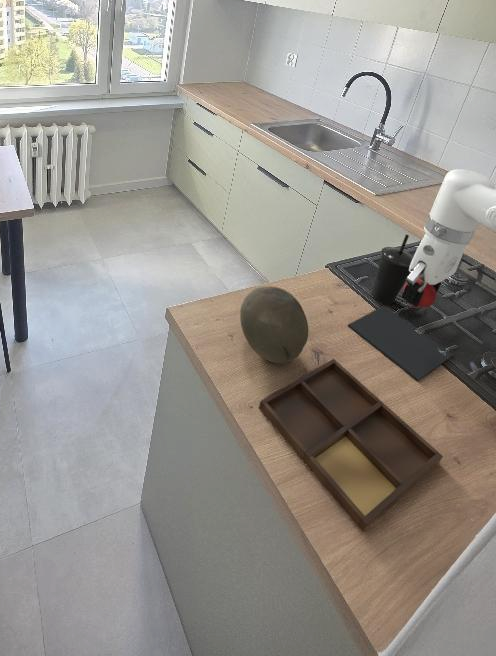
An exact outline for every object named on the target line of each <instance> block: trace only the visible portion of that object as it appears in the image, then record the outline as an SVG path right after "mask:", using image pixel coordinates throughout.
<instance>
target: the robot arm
mask: <svg viewBox="0 0 496 656" xmlns="http://www.w3.org/2000/svg"><path fill="white" fill-rule="evenodd" d="M479 224H480V225H481V226H483V227H484V228H486V229H487V230H489V231H492V232H493V233H494V234H495V233H496V184H495V182H494V181H493V179H491V178H490V177H488V176H487V175H485V174H482V173H480V172H477V171H474V170H469V169H465V168H464V169H462V168H456V169H451V170H449V171H448V172H447V173H446V174H445V176H444V178H443V181H442V183H441V185H440V188H439V190H438V193H437V195H436V198H435V200H434V202H433V204H432V208H431V209H430V211H429V214H428V217H427V219H426V221H425V224H424V226H423V230H424V232H425V234H424V236H423V237H422V239H421V241H420V243H419V245H418V247H417V248H416V250H415V253H414V255H413V259H412V261H411V264H410V267H409V272H410V274H409V276H408V277H407V279H406V282H405V284H406V287H405V289H404V292H403V291H402V294H401V298H402V299H403V300H404V301H406V302H407V303H409V304H410V303H411V304H412V305H414V306H415V307H414V306H413V307H414V308H417V307H416V306H418V305H419V303H420V300H421V298H422V296H423V294H424V292H423V289H424V288H425V286H426V285H427V283H428V284H430V285H433V286H434V288H435V290H436V295H437V293H438V291H439V289H440V287H441V286H442V284H443V283H442V282H443V281H445V280H447V279H448V278H450V277H451V276H453V275H454V274H455V273H456V272H457V270H458V267H459V265H460V263H461V260H462V258H463V255H464V253H465V251H466V247H467V246H469V245H470V242H471V240H472V238H473V236H474V235H475V232H476V230H477V228H478V226H479ZM418 278H419V279H421V280H422V281H423V282H422V283H421V285H420V284H419V283H418V282H417V279H418ZM411 304H410V305H411ZM412 305H411V306H412Z"/></svg>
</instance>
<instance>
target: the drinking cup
mask: <svg viewBox="0 0 496 656" xmlns="http://www.w3.org/2000/svg"><path fill="white" fill-rule="evenodd" d="M409 237H410V235H409V234H405V235H404V238H403V241H402V243H401V246H400V248H398V247H393V246H385V247H383V248H381V250H380V258H379V263H378V267H377V271H376V276H375V279H374V283H373V287H372V292H371V297H372V298H373V299H374V300H375V301H376V302H378V304H379V303H380V304H382V305H384V306H385V305H386V306H391V305H393V304H394V302H395V300H396V298H397V297H398V295H399V293H400V291H401V290H402V289H403V287H404V285H405V284H406V282H407V280H406V279H407V277H408V276H409V275H410V274H411V273H410V272H409V267H410V264H411V261H412V259H413V257H414V255H412V254H411V253H409V252H408V251H406V250H405V247H406V245H407V242H408V240H409Z"/></svg>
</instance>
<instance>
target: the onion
mask: <svg viewBox="0 0 496 656" xmlns="http://www.w3.org/2000/svg"><path fill="white" fill-rule="evenodd" d="M417 282H418V283H419V284H420V285H421V283H422V282H423V281H422V280H421V279H419V278H418V279H417ZM405 287H406V283H404V285H403V287H402V293H403V292H404V289H405ZM423 292H424V294H423V296H422V298H421V300H420V303H419V305H418V306H416V307H415V306H414V305H412V304H411V303H409V304H410V305H411V307H414V308H428V307H431V306H432V305H433V304H434V303H435V302H436V300H437V294H436V290H435V288H434V286H433V285H430V284H428V283H427V285H426V286H425V288H424V289H423Z"/></svg>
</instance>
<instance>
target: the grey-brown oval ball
mask: <svg viewBox="0 0 496 656" xmlns="http://www.w3.org/2000/svg"><path fill="white" fill-rule="evenodd" d="M239 311H240V312H239V314H240V315H239V316H240V327H241V330H242V333H243V335H244V337H245V339H246V341H247V343H248V344H249V346H250V347H251V349H253V351H254V352H255V353H256V354H258V356H260V357H262V358H263V359H264V360H266V361H268V362H271V363H274V364H287V363H290V362H292V361H294V360H295V359H297V358H298V357H299V356H300V354H301V353H302V351H304V348H305V346H306V345H307V342H308V339H309V323H308V319H307V316H306V313H305V311H304V309H303V307H302V305H301V303H300V302H299V300H297V298H296V297H294V295H292V294H291V292H290V291H287V290H286V289H284V288H281V287H278V286H273V285H272V286H271V285H269V286H260V287H256V288H254V289H252V290H251V291H249V293H248V294H247V295H245V297H244V299H243V301H242V304H241V306H240V310H239Z"/></svg>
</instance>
